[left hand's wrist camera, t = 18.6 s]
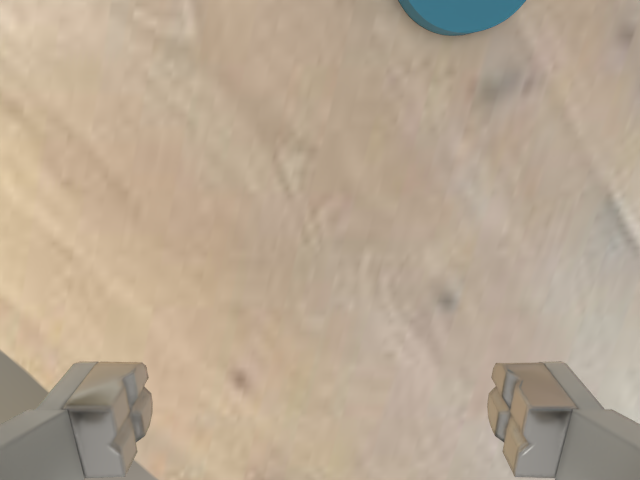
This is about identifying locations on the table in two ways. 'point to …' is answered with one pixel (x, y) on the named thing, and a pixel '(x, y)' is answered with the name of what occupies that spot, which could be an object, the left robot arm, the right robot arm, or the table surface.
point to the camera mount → (459, 14)
